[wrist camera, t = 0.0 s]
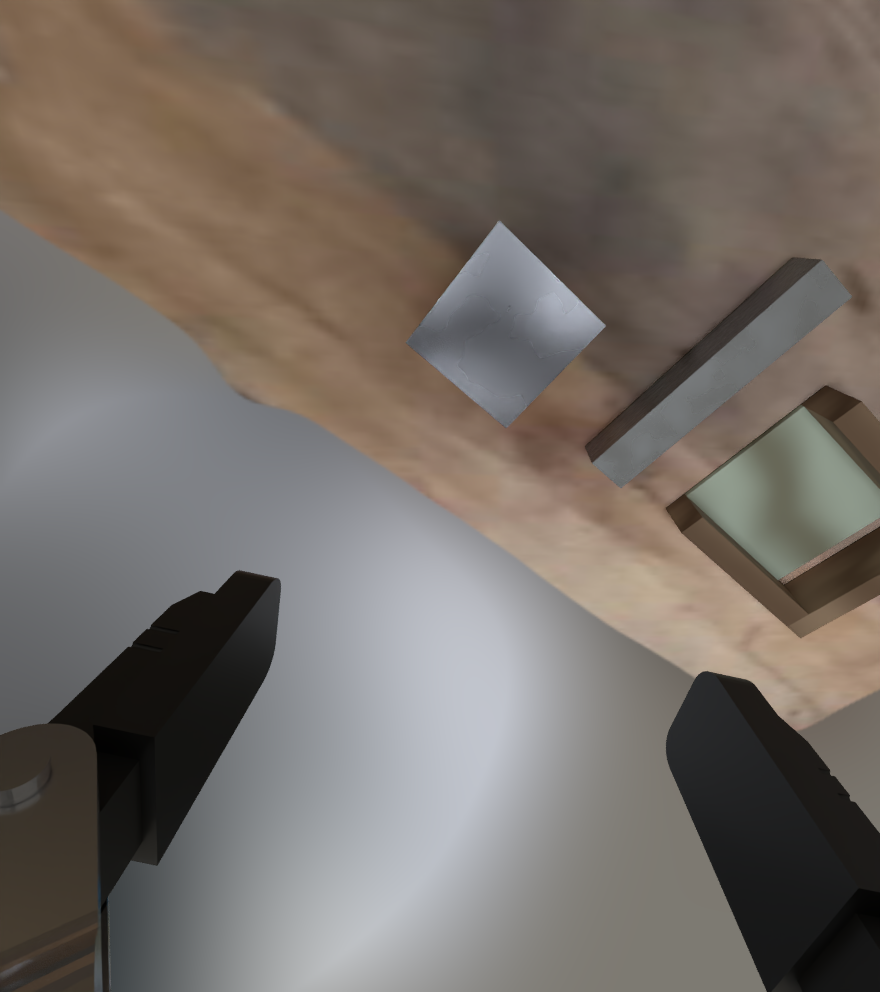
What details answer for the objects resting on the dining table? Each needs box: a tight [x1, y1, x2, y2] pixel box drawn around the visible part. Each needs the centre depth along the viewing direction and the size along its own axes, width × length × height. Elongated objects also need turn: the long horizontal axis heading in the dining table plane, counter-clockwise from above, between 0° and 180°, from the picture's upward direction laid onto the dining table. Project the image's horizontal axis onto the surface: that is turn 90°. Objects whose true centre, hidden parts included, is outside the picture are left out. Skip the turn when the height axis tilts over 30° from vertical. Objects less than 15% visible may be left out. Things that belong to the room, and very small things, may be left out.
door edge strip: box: [585, 258, 852, 488], centre depth 27 cm, size 14×2×2 cm, turn 141°
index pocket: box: [666, 386, 880, 638], centre depth 30 cm, size 11×12×3 cm
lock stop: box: [406, 221, 605, 428], centre depth 21 cm, size 5×5×12 cm
